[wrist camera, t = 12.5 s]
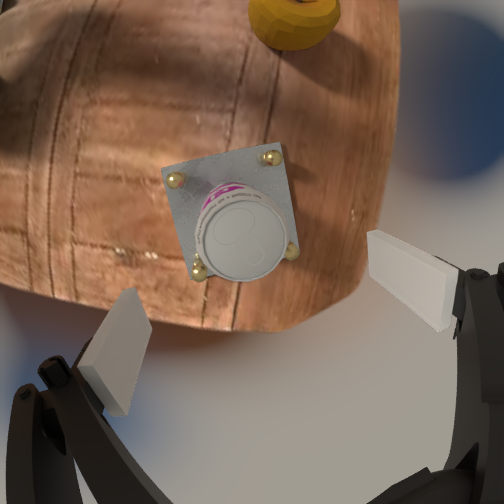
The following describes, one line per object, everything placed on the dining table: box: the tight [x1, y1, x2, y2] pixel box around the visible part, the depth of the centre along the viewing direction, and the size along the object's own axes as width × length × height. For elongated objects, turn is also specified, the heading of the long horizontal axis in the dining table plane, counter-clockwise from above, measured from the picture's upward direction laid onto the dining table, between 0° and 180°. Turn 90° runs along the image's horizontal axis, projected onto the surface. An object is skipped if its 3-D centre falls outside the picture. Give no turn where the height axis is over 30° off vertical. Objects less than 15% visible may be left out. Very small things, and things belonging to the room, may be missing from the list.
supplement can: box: [195, 182, 289, 282], centre depth 30 cm, size 8×8×15 cm
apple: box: [248, 0, 341, 51], centre depth 24 cm, size 11×11×13 cm
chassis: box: [161, 142, 300, 282], centre depth 35 cm, size 16×16×5 cm
